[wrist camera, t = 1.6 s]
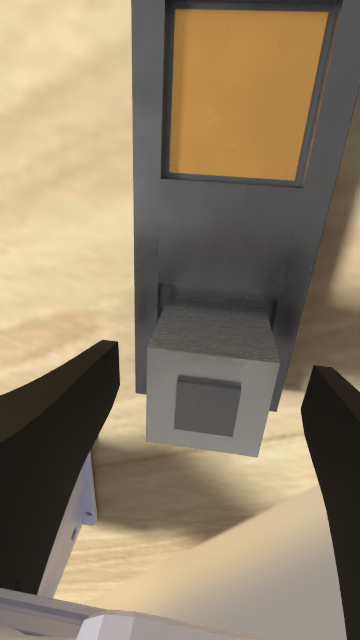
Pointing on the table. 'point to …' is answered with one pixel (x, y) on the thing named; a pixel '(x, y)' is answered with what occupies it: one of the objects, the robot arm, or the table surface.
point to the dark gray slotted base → (236, 151)
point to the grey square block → (211, 373)
